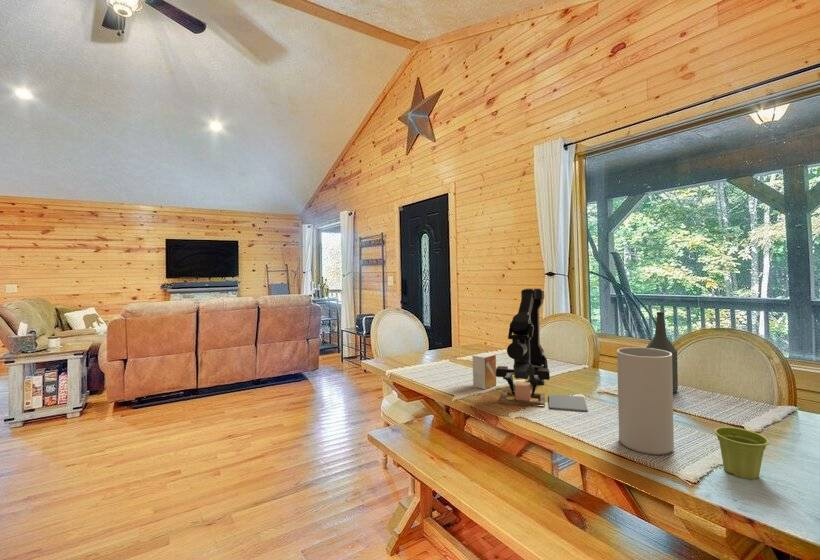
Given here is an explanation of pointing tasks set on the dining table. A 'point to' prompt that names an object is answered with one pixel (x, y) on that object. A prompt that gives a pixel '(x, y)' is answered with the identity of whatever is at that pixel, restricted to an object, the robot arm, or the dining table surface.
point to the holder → (522, 402)
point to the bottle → (665, 346)
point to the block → (522, 391)
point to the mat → (567, 403)
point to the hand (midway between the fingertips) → (523, 395)
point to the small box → (484, 370)
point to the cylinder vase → (645, 400)
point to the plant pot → (741, 451)
